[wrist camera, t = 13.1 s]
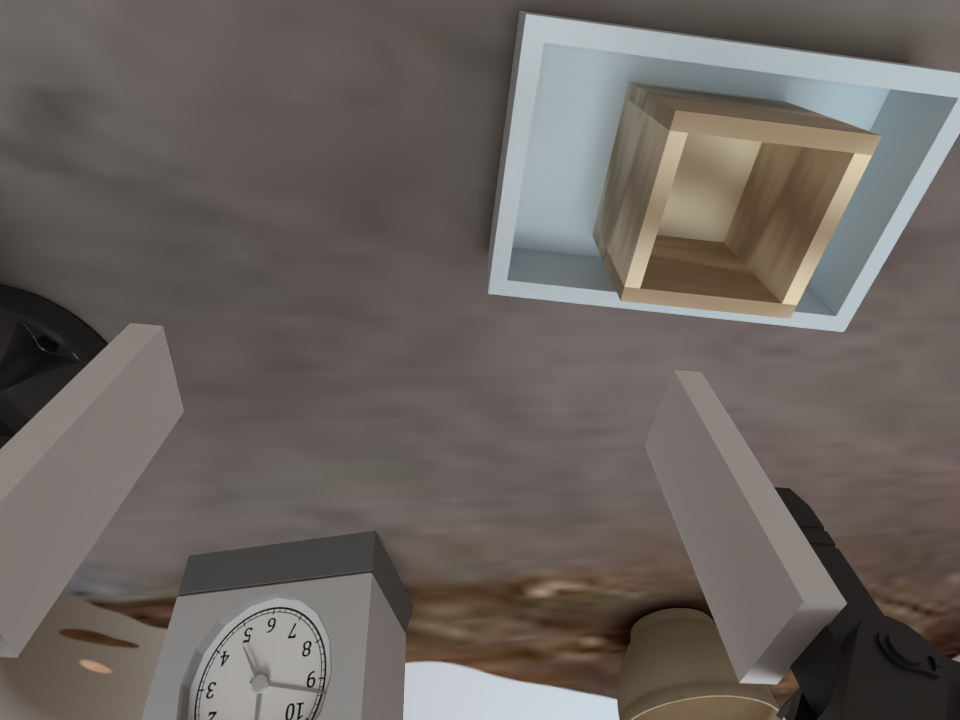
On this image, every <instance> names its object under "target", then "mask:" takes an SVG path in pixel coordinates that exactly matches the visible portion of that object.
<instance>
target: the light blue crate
mask: <svg viewBox="0 0 960 720" xmlns="http://www.w3.org/2000/svg"><path fill="white" fill-rule="evenodd" d="M629 82H636V83H644V84H652V85H660V86H668V87H676V88H684V89H691V90H699V91H707V92H715V93H723V94H731V95H739V96H747V97H755V98H763V99H770V100H778V101H785V102H788V103H791V104H794V105H797V106H800V107H802V108H805V109H808V110H811V111H814V112H816V113H819V114H822V115H825V116H828V117H830V118H833V119H836V120H839V121H842V122H844V123H847V124H850V125H853V126H856V127H859V128H861V129H864V130H867V131H870V132H873V133H875V134H878V135H881V136H882V137H881V139H880V141H879V143H878V145H877V147H876V149H875V151H874V153H873V155H872V157H871V159H870V161H869V163H868V165H867V167H866V169H865V171H864V173H863V175H862V177H861V179H860V181H859V183H858V185H857V187H856V189H855V191H854V193H853V195H852V197H851V199H850V201H849V203H848V205H847V207H846V209H845V211H844V213H843V215H842V217H841V219H840V221H839V223H838V225H837V227H836V229H835V231H834V233H833V235H832V237H831V239H830V241H829V243H828V245H827V247H826V249H825V251H824V253H823V255H822V257H821V259H820V261H819V262H818V264H817V266H816V268H815V270H814V272H813V274H812V276H811V278H810V280H809V282H808V284H807V286H806V288H805V290H804V292H803V294H802V296H801V298H800V300H799V302H798V304H797V306H796V308H795V310H794V312H793V314H792V316H791V318H790V319H788V318H778V317H769V316H759V315H750V314H740V313H731V312H721V311H711V310H702V309H692V308H683V307H673V306H664V305H654V304H645V303H635V302H626V301H620V299H619V297H618V294H617V292H616V290H615V287H614V285H613V283H612V280H611V278H610V276H609V274H608V271H607V269H606V267H605V264H604V262H603V260H602V257H601V255H600V253H599V250H598V248H597V246H596V244H595V241H594V239H593V237H592V234H593V230H594V226H595V221H596V217H597V213H598V209H599V205H600V200H601V196H602V192H603V188H604V184H605V179H606V175H607V171H608V167H609V163H610V158H611V154H612V150H613V146H614V142H615V137H616V133H617V129H618V125H619V121H620V116H621V112H622V108H623V104H624V100H625V95H626V91H627V87H628V83H629ZM959 133H960V72H956V71H949V70H943V69H937V68H931V67H925V66H919V65H913V64H906V63H899V62H891V61H884V60H877V59H869V58H862V57H855V56H847V55H840V54H833V53H825V52H818V51H811V50H803V49H796V48H789V47H781V46H774V45H767V44H759V43H752V42H745V41H737V40H730V39H723V38H715V37H708V36H701V35H693V34H686V33H679V32H671V31H664V30H657V29H649V28H642V27H635V26H627V25H620V24H613V23H605V22H598V21H591V20H583V19H576V18H569V17H561V16H554V15H547V14H539V13H532V12H525V11H519V19H518V26H517V34H516V42H515V50H514V57H513V65H512V73H511V80H510V88H509V96H508V103H507V111H506V119H505V126H504V134H503V142H502V150H501V157H500V165H499V173H498V180H497V188H496V196H495V203H494V211H493V219H492V226H491V234H490V242H489V250H488V294H495V295H504V296H513V297H522V298H532V299H541V300H550V301H560V302H569V303H578V304H587V305H597V306H606V307H615V308H625V309H634V310H643V311H652V312H662V313H671V314H680V315H690V316H699V317H708V318H718V319H727V320H736V321H745V322H755V323H764V324H773V325H783V326H792V327H801V328H810V329H820V330H829V331H838V332H844V331H845V329H846V328H847V326H848V324H849V322H850V321H851V319H852V317H853V316H854V314H855V312H856V310H857V309H858V307H859V305H860V304H861V302H862V300H863V298H864V297H865V295H866V293H867V291H868V290H869V288H870V286H871V285H872V283H873V281H874V279H875V278H876V276H877V274H878V273H879V271H880V269H881V267H882V266H883V264H884V262H885V261H886V259H887V257H888V255H889V254H890V252H891V250H892V248H893V247H894V245H895V243H896V242H897V240H898V238H899V236H900V235H901V233H902V231H903V230H904V228H905V226H906V224H907V223H908V221H909V219H910V217H911V216H912V214H913V212H914V211H915V209H916V207H917V205H918V204H919V202H920V200H921V199H922V197H923V195H924V193H925V192H926V190H927V188H928V187H929V185H930V183H931V181H932V180H933V178H934V176H935V174H936V173H937V171H938V169H939V168H940V166H941V164H942V162H943V161H944V159H945V157H946V156H947V154H948V152H949V150H950V149H951V147H952V145H953V143H954V142H955V140H956V138H957V137H958V135H959Z"/></svg>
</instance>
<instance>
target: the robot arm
mask: <svg viewBox="0 0 960 720" xmlns="http://www.w3.org/2000/svg"><path fill="white" fill-rule="evenodd" d="M183 413H184V410H183V406H182V401H181V397H180V393H179V389H178V385H177V381H176V377H175V373H174V369H173V365H172V361H171V357H170V353H169V349H168V345H167V341H166V336H165V332H164V328H163V326H159V325H148V324H136V323H130V324H129V325H128V326H127V327H126V328H125V329H124V330H123V331H122V332H121V333H120V334H119V335H118V336H117V337H115V338H114V339H113V340H112V341H111V342H110V343H109V344H108V345H106V344H105V343H104V342H103V341H102V340H101V339H100V338H99V337H98V336H97V335H96V334H95V333H94V332H93V331H92V330H91V329H90V328H88V327H87V326H86V325H85V324H83V323H82V322H81V321H79V320H78V319H77V318H75V317H74V316H72V315H71V314H69V313H68V312H66V311H65V310H63V309H61V308H60V307H58V306H56V305H54V304H52V303H50V302H48V301H46V300H44V299H42V298H39V297H37V296H34V295H32V294H29V293H26V292H23V291H20V290H17V289H13V288H9V287H4V286H0V657H18V655H19V654H20V652H21V651H22V649H23V648H24V646H25V645H26V644H27V642H28V640H29V639H30V638H31V636H32V635H33V633H34V632H35V630H36V629H37V627H38V626H39V624H40V623H41V622H42V620H43V619H44V617H45V616H46V614H47V613H48V611H49V610H50V608H51V606H52V605H53V604H54V602H55V601H56V599H57V598H58V596H59V595H60V594H61V592H62V591H63V589H64V588H65V586H66V585H67V583H68V582H69V580H70V579H71V577H72V576H73V574H74V573H75V571H76V570H77V569H78V567H79V566H80V564H81V563H82V561H83V560H84V558H85V557H86V555H87V554H88V552H89V551H90V549H91V548H92V546H93V545H94V544H95V542H96V541H97V539H98V538H99V536H100V535H101V533H102V532H103V530H104V529H105V527H106V526H107V524H108V523H109V521H110V520H111V518H112V517H113V516H114V514H115V513H116V511H117V510H118V508H119V507H120V505H121V504H122V502H123V501H124V499H125V498H126V496H127V495H128V493H129V492H130V491H131V489H132V488H133V486H134V485H135V483H136V482H137V480H138V479H139V477H140V476H141V474H142V473H143V471H144V470H145V468H146V467H147V466H148V464H149V463H150V461H151V460H152V458H153V457H154V455H155V454H156V452H157V451H158V449H159V448H160V446H161V445H162V443H163V442H164V440H165V439H166V438H167V436H168V435H169V433H170V432H171V430H172V429H173V427H174V426H175V424H176V423H177V421H178V420H179V418H180V417H181V415H182V414H183ZM644 446H645V448H646V451H647V453H648V456H649V458H650V461H651V463H652V466H653V468H654V471H655V473H656V476H657V478H658V481H659V483H660V486H661V488H662V491H663V493H664V496H665V498H666V501H667V503H668V506H669V508H670V511H671V513H672V516H673V518H674V521H675V523H676V526H677V528H678V531H679V533H680V536H681V538H682V541H683V543H684V546H685V548H686V551H687V553H688V556H689V558H690V561H691V563H692V566H693V568H694V571H695V573H696V576H697V578H698V581H699V583H700V586H701V588H702V591H703V593H704V596H705V598H706V601H707V603H708V606H709V608H710V611H711V613H712V616H713V618H714V621H715V623H716V626H717V628H718V631H719V633H720V636H721V638H722V641H723V643H724V646H725V648H726V651H727V653H728V656H729V658H730V661H731V663H732V666H733V668H734V671H735V674H736V676H737V679H738V681H739V683H751V684H778V682H779V681H780V680H781V679H782V678H783V677H784V675H785V674H786V673H787V672H788V671H789V670H790V669H791V670H792V672H793V674H794V676H795V678H796V680H797V682H798V684H799V686H800V687H799V688H798V689H797V691H796V692H795V693H794V694H793V695H792V696H791V697H790V698H789V699H788V700H787V701H786V702H785V704H784V705H783V706H782V707H781V708H780V710H779V711H778V713H777V714H776V716H777V717H779V718H780V719H781V720H782V719H783V718H784V717H785V716H786V714H787V713H788V716H787V720H960V662H957V661H954V660H952V659H949V658H946V657H943V656H940V655H938V654H937V652H936V650H935V649H934V648H933V647H932V646H931V645H930V644H929V643H928V642H927V641H926V640H925V639H924V638H923V637H922V636H921V635H920V634H919V633H917V632H916V631H914V630H913V629H912V628H910V627H909V626H907V625H906V624H904V623H902V622H900V621H898V620H895V619H893V618H891V617H888V616H884V614H883V613H882V612H881V611H880V609H879V608H878V606H877V605H876V603H875V602H874V600H873V599H872V597H871V596H870V594H869V593H868V591H867V590H866V589H865V587H864V586H863V584H862V583H861V581H860V580H859V578H858V577H857V575H856V574H855V572H854V571H853V569H852V568H851V566H850V565H849V563H848V562H847V560H846V559H845V557H844V556H843V555H842V553H841V552H840V550H839V549H836V547H835V545H836V544H835V543H834V541H833V540H832V538H831V537H830V535H829V534H828V532H827V531H824V526H823V525H822V524H821V522H820V521H819V519H818V518H817V516H816V515H815V513H814V512H813V510H812V509H811V507H810V506H809V505H808V504H806V503H805V502H804V501H803V500H802V499H801V498H800V497H799V496H797V495H796V494H795V493H794V492H793V491H792V490H791V489H790V488H777V487H773V485H772V483H771V482H770V480H769V479H768V477H767V476H766V474H765V472H764V471H763V469H762V468H761V466H760V464H759V463H758V461H757V460H756V458H755V456H754V455H753V453H752V452H751V450H750V449H749V447H748V445H747V444H746V442H745V441H744V439H743V437H742V436H741V434H740V433H739V431H738V429H737V428H736V426H735V425H734V423H733V422H732V420H731V418H730V417H729V415H728V414H727V412H726V410H725V409H724V407H723V406H722V404H721V403H720V401H719V399H718V398H717V396H716V395H715V393H714V391H713V390H712V388H711V387H710V385H709V383H708V382H707V380H706V379H705V377H704V376H703V374H702V372H693V371H681V370H674V371H673V374H672V376H671V379H670V381H669V384H668V387H667V389H666V392H665V394H664V397H663V399H662V402H661V404H660V407H659V410H658V412H657V415H656V417H655V420H654V422H653V425H652V427H651V430H650V433H649V435H648V438H647V440H646V443H645V445H644Z"/></svg>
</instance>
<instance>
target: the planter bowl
mask: <svg viewBox="0 0 960 720" xmlns="http://www.w3.org/2000/svg"><path fill="white" fill-rule="evenodd" d="M630 636H631V642H630V644H629V646H628V648H627V650H626V652H625V655H624V658H623V661H622V664H621V668H620V673H619V679H618V689H617V701H618V712H619V718H620V720H781V719H780V718H779V717H777V716H776V714H777V713H778V711H779V710H780V707H779V705H778V704H777V702H776V701H775V700H774V698H773V695H772V693H771V691H770V689H769V687H768V685H767V684H751V683H739V681H738V679H737V676H736V674H735V671H734V668H733V666H732V663H731V661H730V658H729V656H728V653H727V651H726V648H725V646H724V643H723V641H722V638H721V636H720V633H719V631H718V628H717V627H716V626H715V624H714V622H713V620H712V619H711V618H710V617H709V616H708V615H707V614H705V613H703V612H701V611H698V610H694V609H689V608H670V609H664V610H660V611H656V612H653V613H651V614H648V615H646V616H644V617H642V618H641V619H640V620H638V621H637V622H636V623H635V624H634V626H633V627H632V629H631V635H630ZM782 720H785V717H784V718H783V719H782Z"/></svg>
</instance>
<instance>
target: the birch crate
mask: <svg viewBox="0 0 960 720" xmlns="http://www.w3.org/2000/svg"><path fill="white" fill-rule="evenodd" d="M881 137H882V136H881V135H878V134H875V133H873V132H870V131H867V130H864V129H861V128H859V127H856V126H853V125H850V124H847V123H844V122H842V121H839V120H836V119H833V118H830V117H828V116H825V115H822V114H819V113H816V112H814V111H811V110H808V109H805V108H802V107H800V106H797V105H794V104H791V103H788V102H785V101H778V100H770V99H763V98H755V97H747V96H739V95H731V94H723V93H715V92H707V91H699V90H691V89H684V88H676V87H668V86H660V85H652V84H644V83H636V82H629V83H628V87H627V91H626V95H625V100H624V104H623V108H622V112H621V116H620V121H619V125H618V129H617V133H616V137H615V142H614V146H613V150H612V154H611V158H610V163H609V167H608V171H607V175H606V179H605V184H604V188H603V192H602V196H601V200H600V205H599V209H598V213H597V217H596V221H595V226H594V230H593V234H592V237H593V239H594V241H595V244H596V246H597V248H598V250H599V253H600V255H601V257H602V260H603V262H604V264H605V267H606V269H607V271H608V274H609V276H610V278H611V280H612V283H613V285H614V287H615V290H616V292H617V294H618V297H619V299H620V301H626V302H635V303H645V304H654V305H664V306H673V307H683V308H692V309H702V310H711V311H721V312H731V313H740V314H750V315H759V316H769V317H778V318H788V319H790V318H791V316H792V314H793V312H794V310H795V308H796V306H797V304H798V302H799V300H800V298H801V296H802V294H803V292H804V290H805V288H806V286H807V284H808V282H809V280H810V278H811V276H812V274H813V272H814V270H815V268H816V266H817V264H818V262H819V261H820V259H821V257H822V255H823V253H824V251H825V249H826V247H827V245H828V243H829V241H830V239H831V237H832V235H833V233H834V231H835V229H836V227H837V225H838V223H839V221H840V219H841V217H842V215H843V213H844V211H845V209H846V207H847V205H848V203H849V201H850V199H851V197H852V195H853V193H854V191H855V189H856V187H857V185H858V183H859V181H860V179H861V177H862V175H863V173H864V171H865V169H866V167H867V165H868V163H869V161H870V159H871V157H872V155H873V153H874V151H875V149H876V147H877V145H878V143H879V141H880V139H881Z"/></svg>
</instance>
